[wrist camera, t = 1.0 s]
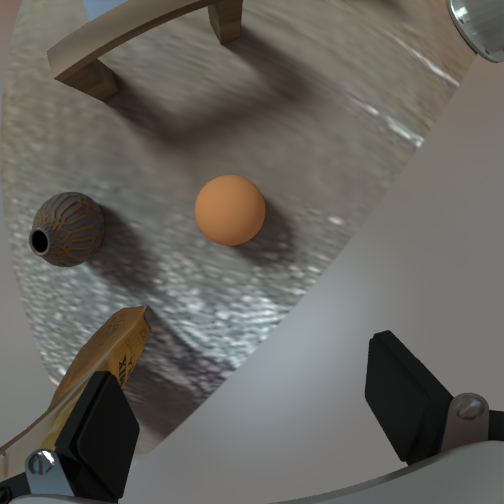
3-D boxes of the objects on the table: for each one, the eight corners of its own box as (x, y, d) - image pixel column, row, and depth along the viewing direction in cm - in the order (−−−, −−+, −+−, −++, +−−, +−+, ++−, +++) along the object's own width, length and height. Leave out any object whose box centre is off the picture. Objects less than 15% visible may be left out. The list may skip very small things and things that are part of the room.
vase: (81, 175, 26) (33, 180, 18) (126, 219, 28) (87, 239, 20) (49, 225, 27) (1, 244, 19) (90, 267, 29) (49, 299, 21)
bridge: (94, 79, 24) (46, 51, 14) (228, 16, 23) (228, -37, 14) (102, 101, 25) (53, 78, 15) (240, 38, 24) (243, -14, 15)
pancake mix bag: (66, 376, 33) (-23, 533, 6) (119, 272, 29) (-62, 494, 2) (106, 403, 34) (43, 573, 7) (171, 308, 31) (81, 584, 4)
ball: (247, 164, 27) (251, 162, 22) (271, 222, 29) (281, 235, 23) (188, 190, 28) (177, 195, 22) (214, 246, 29) (210, 265, 23)
